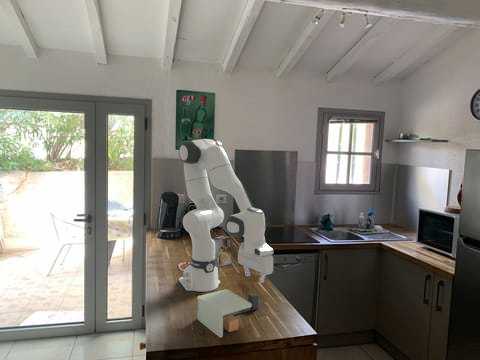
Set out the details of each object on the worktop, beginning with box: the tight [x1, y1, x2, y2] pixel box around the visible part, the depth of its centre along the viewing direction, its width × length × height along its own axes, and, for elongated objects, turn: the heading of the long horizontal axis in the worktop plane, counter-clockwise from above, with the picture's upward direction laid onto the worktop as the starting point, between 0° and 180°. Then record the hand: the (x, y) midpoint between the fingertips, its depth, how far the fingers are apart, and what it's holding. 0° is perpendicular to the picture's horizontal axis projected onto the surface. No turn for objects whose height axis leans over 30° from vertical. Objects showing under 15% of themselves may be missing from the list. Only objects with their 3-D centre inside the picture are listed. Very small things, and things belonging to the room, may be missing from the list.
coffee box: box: [212, 235, 232, 268], centre depth 210 cm, size 9×6×16 cm
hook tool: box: [223, 292, 259, 320], centre depth 146 cm, size 8×18×6 cm, turn 126°
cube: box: [223, 315, 239, 333], centre depth 135 cm, size 4×4×4 cm
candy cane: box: [177, 261, 191, 273], centre depth 203 cm, size 8×1×15 cm
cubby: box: [196, 288, 252, 339], centre depth 139 cm, size 17×14×9 cm
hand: (254, 278), depth 151 cm, fingers open, 8 cm apart
